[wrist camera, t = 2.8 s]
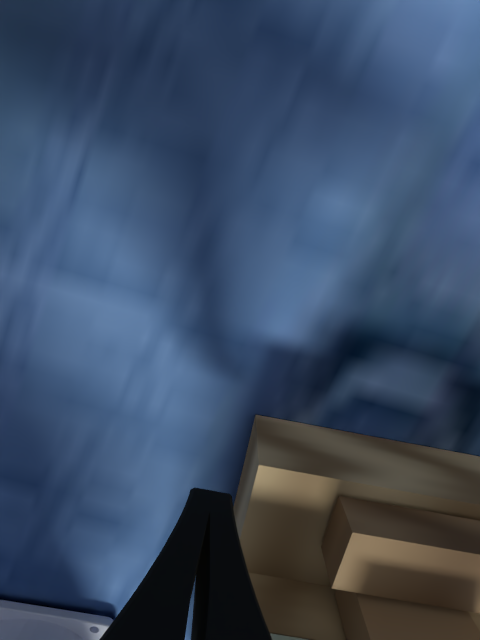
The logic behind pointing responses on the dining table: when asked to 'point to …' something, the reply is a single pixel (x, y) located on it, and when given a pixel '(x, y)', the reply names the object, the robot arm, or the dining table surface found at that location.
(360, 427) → the dining table surface
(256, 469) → the tan shallow box
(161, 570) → the robot arm
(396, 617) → the lid
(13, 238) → the dining table surface
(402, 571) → the wooden block
